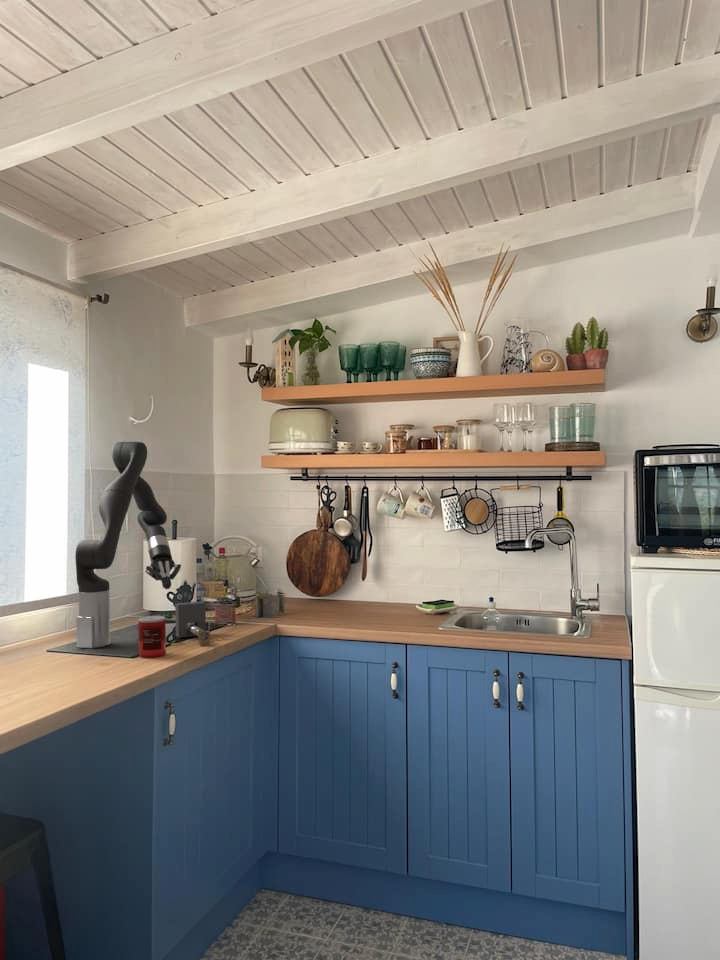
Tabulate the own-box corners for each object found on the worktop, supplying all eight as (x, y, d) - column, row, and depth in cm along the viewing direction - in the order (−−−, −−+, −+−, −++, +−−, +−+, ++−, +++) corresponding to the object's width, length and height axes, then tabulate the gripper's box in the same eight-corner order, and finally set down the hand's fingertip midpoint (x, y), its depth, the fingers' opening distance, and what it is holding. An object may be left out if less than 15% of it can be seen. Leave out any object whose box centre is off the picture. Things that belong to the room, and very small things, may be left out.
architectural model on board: (258, 618, 280) (257, 593, 280) (255, 617, 283) (254, 592, 283) (285, 615, 286) (285, 590, 286) (282, 614, 288) (281, 589, 289)
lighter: (237, 624, 267) (237, 596, 267) (233, 625, 264) (233, 597, 264) (217, 623, 269) (217, 595, 269) (213, 625, 266) (212, 597, 266)
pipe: (159, 636, 246) (159, 623, 246) (212, 630, 254) (212, 618, 254) (176, 649, 226) (176, 635, 226) (233, 642, 234) (233, 629, 234)
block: (175, 635, 245) (175, 603, 245) (202, 632, 249) (202, 601, 249) (178, 637, 241) (178, 605, 242) (205, 634, 246) (205, 602, 246)
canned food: (155, 651, 223) (154, 614, 223) (171, 654, 218) (170, 617, 218) (133, 656, 217) (132, 618, 217) (149, 659, 212) (148, 621, 212)
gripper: (142, 544, 265) (150, 582, 254) (179, 542, 271) (188, 579, 260) (139, 558, 270) (147, 595, 259) (175, 556, 276) (184, 592, 265)
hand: (167, 587), depth 260 cm, fingers closed
